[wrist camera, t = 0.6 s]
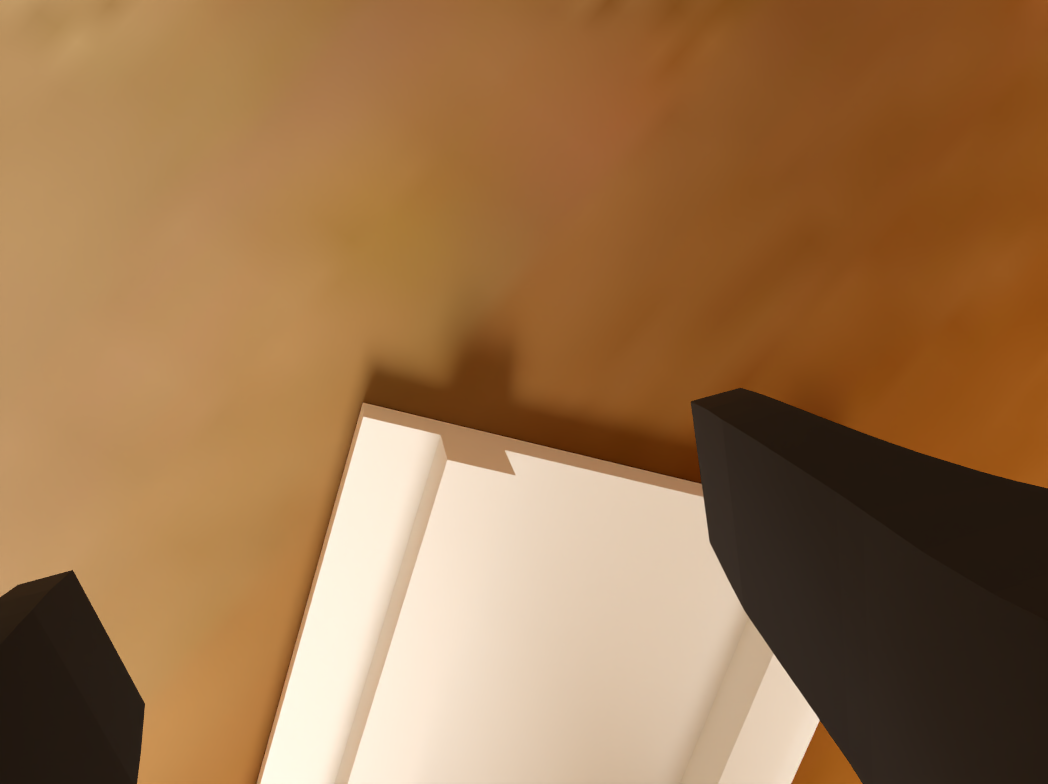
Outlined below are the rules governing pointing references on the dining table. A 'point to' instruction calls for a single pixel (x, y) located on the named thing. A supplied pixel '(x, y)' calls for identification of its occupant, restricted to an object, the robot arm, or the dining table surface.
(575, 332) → the dining table surface
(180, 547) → the dining table surface
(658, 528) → the bottle cradle
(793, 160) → the dining table surface
